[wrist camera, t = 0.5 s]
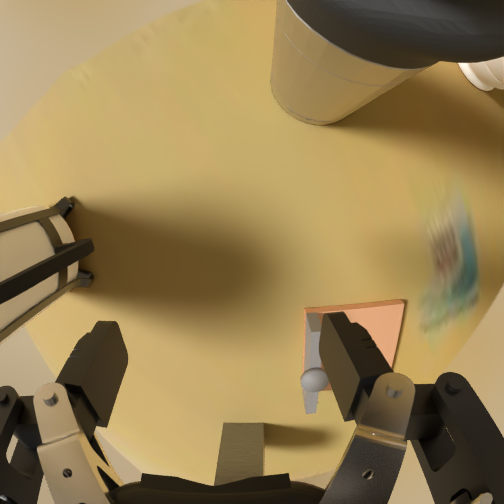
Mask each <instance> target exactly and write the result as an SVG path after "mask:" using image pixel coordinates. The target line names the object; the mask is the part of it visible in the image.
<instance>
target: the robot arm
mask: <svg viewBox="0 0 504 504" xmlns="http://www.w3.org/2000/svg"><path fill="white" fill-rule="evenodd" d="M501 57H504V0H277V9H276V21H275V34H274V46H273V58H272V68H271V88H272V92H273V94H274V97H275V99H276V100H277V102H278V103H279V105H280V106H281V107H282V108H283V109H284V110H285V111H286V112H287V113H288V114H290V115H291V116H293V117H294V118H296V119H298V120H300V121H303V122H305V123H310V124H314V125H325V124H332V123H335V122H337V121H340V120H342V119H343V118H345V117H346V116H348V115H349V114H351V113H353V112H355V111H356V110H358V109H359V108H361V107H363V106H364V105H366V104H367V103H369V102H371V101H372V100H374V99H376V98H377V97H379V96H380V95H382V94H384V93H385V92H387V91H389V90H390V89H392V88H394V87H396V86H397V85H399V84H401V83H402V82H404V81H406V80H408V79H409V78H411V77H412V76H414V75H416V74H418V73H419V72H421V71H423V70H425V69H427V68H428V67H430V66H432V65H434V64H435V63H437V62H439V61H446V62H455V63H478V62H484V61H489V60H493V59H497V58H501ZM319 355H320V359H321V362H322V364H323V367H324V369H325V372H326V374H327V377H328V380H329V382H330V385H331V387H332V390H333V392H334V395H335V398H336V400H337V403H338V406H339V408H340V411H341V413H342V416H343V419H344V421H345V422H346V421H350V420H355V422H356V424H357V427H356V429H355V431H354V433H353V435H352V438H351V440H350V442H349V444H348V446H347V448H346V450H345V452H344V454H343V456H342V458H341V460H340V462H339V464H338V466H337V468H336V470H335V472H334V474H333V476H332V477H331V479H330V481H329V483H328V484H327V486H326V488H325V489H322V488H320V487H317V486H315V485H312V484H308V483H303V482H298V481H290V478H289V473H286V474H277V475H268V476H257V477H250V478H246V479H242V480H238V481H234V482H230V483H226V484H222V485H217V486H210V485H205V484H201V483H197V482H193V481H189V480H186V479H182V478H179V477H173V476H162V475H153V474H145V473H142V477H141V481H138V482H133V483H129V484H124V483H123V482H122V480H121V479H120V478H119V476H118V475H117V474H116V472H115V471H114V469H113V467H112V465H111V463H110V462H109V460H108V458H107V456H106V454H105V452H104V450H103V448H102V446H101V444H100V442H99V440H98V437H97V435H96V434H95V432H94V431H95V428H96V426H100V427H106V428H107V426H108V422H109V419H110V416H111V413H112V409H113V406H114V403H115V400H116V397H117V394H118V391H119V388H120V385H121V382H122V379H123V376H124V373H125V371H126V368H127V365H128V353H127V349H126V346H125V344H124V341H123V338H122V335H121V332H120V328H119V325H118V323H117V322H116V321H98V322H97V323H96V324H95V326H94V328H93V329H92V331H91V333H87V334H85V335H84V336H83V337H82V338H81V339H80V340H79V341H78V342H77V344H76V346H75V347H74V351H72V353H71V354H70V358H68V360H67V361H66V363H65V365H64V367H63V369H62V370H61V372H60V374H59V376H58V378H57V380H56V381H55V383H47V384H45V385H43V386H41V387H40V388H39V389H38V390H37V391H36V393H35V395H34V396H19V395H18V393H17V392H16V391H15V389H14V388H12V387H11V386H2V387H0V504H37V500H38V495H39V491H40V487H41V482H42V478H43V475H45V478H46V481H47V484H48V487H49V490H50V492H51V495H52V497H53V500H54V502H55V504H387V503H388V501H389V498H390V496H391V493H392V490H393V487H394V485H395V482H396V480H397V477H398V474H399V471H400V468H401V465H402V462H403V458H404V455H405V452H406V448H407V441H406V440H410V441H411V443H412V446H413V448H414V450H415V453H416V455H417V458H418V460H419V463H420V465H421V468H422V470H423V473H424V475H425V478H426V480H427V483H428V486H429V489H430V491H431V494H432V497H433V499H434V502H435V504H504V438H503V436H502V434H501V432H500V431H499V429H498V427H497V426H496V424H495V422H494V421H493V419H492V418H491V416H490V414H489V413H488V411H487V410H486V408H485V406H484V405H483V403H482V402H481V400H480V399H479V397H478V396H477V394H476V393H475V391H474V390H473V388H472V387H471V385H470V384H469V382H468V381H467V380H466V379H465V378H464V377H463V376H462V375H460V374H457V373H453V372H447V373H443V374H442V375H440V376H439V377H438V379H437V381H436V382H435V384H413V382H412V381H411V380H410V379H409V378H408V377H407V376H405V375H403V374H400V373H394V372H393V370H392V368H391V367H390V365H389V364H388V362H387V360H386V359H385V357H384V356H383V354H382V352H381V351H380V349H379V348H378V347H377V345H376V343H375V342H374V340H372V337H371V335H370V334H369V332H368V331H367V329H365V328H364V327H363V326H361V325H360V324H359V323H357V322H354V323H351V322H350V320H349V319H348V317H347V315H346V314H345V312H343V311H340V312H331V313H324V315H323V318H322V326H321V333H320V339H319ZM446 428H447V429H446ZM13 434H14V435H15V437H16V438H17V439H18V442H17V445H16V447H15V450H14V453H13V456H12V459H11V462H10V464H9V463H8V461H7V458H6V452H7V448H8V446H9V443H10V441H11V438H12V435H13ZM450 435H451V436H450ZM451 437H452V438H451ZM452 439H453V440H452ZM453 441H454V442H453Z"/></svg>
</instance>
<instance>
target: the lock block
mask: <svg viewBox="0 0 504 504" xmlns="http://www.w3.org/2000/svg"><path fill="white" fill-rule="evenodd" d="M264 458H265V438H264V423H223V430H222V436H221V443H220V449H219V456H218V462H217V469H216V475H215V482H214V486H217V485H222V484H226V483H230V482H234V481H238V480H242V479H246V478H250V477H257V476H264Z"/></svg>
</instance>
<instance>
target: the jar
mask: <svg viewBox="0 0 504 504" xmlns="http://www.w3.org/2000/svg"><path fill="white" fill-rule="evenodd" d="M458 65H459V67H460V68H461V70H462V72H463V73H464V75H465V76H466V77H467V79H468V80H469V81H470V82H471V83H472V84H473V85H475V86H476V87H477V88H479V89H481V90H484V91H490V90H492V89H493V88H498V89H503V90H504V57H501V58H497V59H493V60H489V61H484V62H478V63H458Z"/></svg>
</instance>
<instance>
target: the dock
mask: <svg viewBox="0 0 504 504" xmlns="http://www.w3.org/2000/svg"><path fill="white" fill-rule="evenodd" d="M403 309H404V303H403V301H402V300H401V299H398V300H390V301H381V302H372V303H362V304H351V305H340V306H328V307H314V308H304V348H303V372H302V376H301V379H300V380H301V386H302V391H303V398H304V404H305V411H306V414H310V413H316V408H317V400H318V392H319V391H323V390H332V387H331V385H330V382H329V380H328V377H327V374H326V372H325V369H324V367H323V364H322V362H321V359H320V355H319V339H320V333H321V326H322V318H323V315H324V313H331V312H340V311H343V312H345V314H346V315H347V317H348V319H349V320H350V322H351V323H354V322H357V323H359V324H360V325H361V326H363V327H364V328H365V329H367V331H368V332H369V334H370V335H371V337H372V340H374V342H375V343H376V345H377V347H378V348H379V349H380V351H381V352H382V354H383V356H384V357H385V359H386V360H387V362H388V364H389V365H390V367H392V363H393V359H394V354H395V350H396V346H397V341H398V336H399V331H400V326H401V321H402V315H403Z"/></svg>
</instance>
